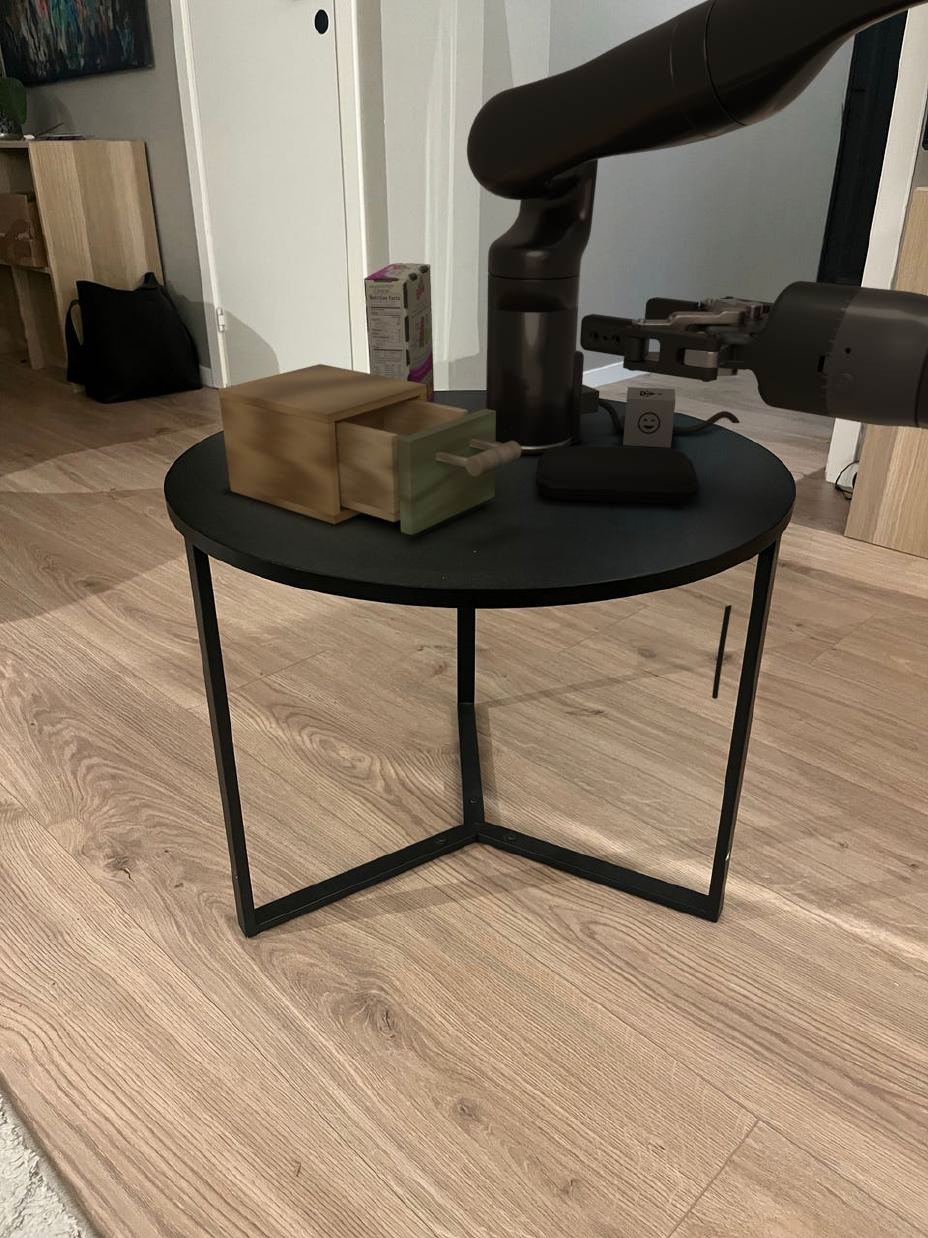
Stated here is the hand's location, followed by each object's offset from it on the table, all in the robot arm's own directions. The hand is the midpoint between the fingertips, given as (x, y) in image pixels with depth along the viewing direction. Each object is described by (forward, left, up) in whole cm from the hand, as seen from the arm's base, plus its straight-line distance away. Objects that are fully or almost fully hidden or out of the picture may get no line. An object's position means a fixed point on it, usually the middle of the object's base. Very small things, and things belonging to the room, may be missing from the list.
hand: (616, 321), depth 65 cm
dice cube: (-24, -26, -19) cm, 40 cm away
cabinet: (+12, -27, -19) cm, 35 cm away
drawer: (+7, -17, -18) cm, 25 cm away
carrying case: (-12, -15, -19) cm, 27 cm away
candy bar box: (-4, -46, -19) cm, 50 cm away
